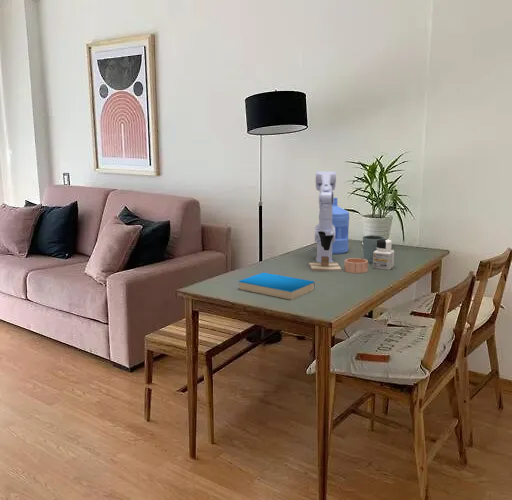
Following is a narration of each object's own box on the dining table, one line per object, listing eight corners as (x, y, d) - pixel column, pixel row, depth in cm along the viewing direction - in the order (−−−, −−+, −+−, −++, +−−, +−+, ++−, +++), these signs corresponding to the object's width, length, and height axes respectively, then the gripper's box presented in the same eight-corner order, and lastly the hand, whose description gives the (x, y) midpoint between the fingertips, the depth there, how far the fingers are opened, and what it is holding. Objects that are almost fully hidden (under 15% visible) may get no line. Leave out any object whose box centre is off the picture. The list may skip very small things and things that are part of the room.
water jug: (313, 249, 285) (314, 197, 279) (340, 247, 289) (341, 196, 284) (325, 255, 270) (327, 200, 264) (353, 253, 275) (355, 199, 269)
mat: (306, 265, 250) (306, 263, 250) (338, 264, 250) (338, 263, 250) (310, 272, 235) (310, 271, 235) (344, 272, 235) (344, 271, 235)
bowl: (342, 268, 242) (343, 258, 241) (364, 268, 242) (365, 257, 241) (346, 274, 232) (347, 263, 231) (369, 274, 232) (370, 263, 231)
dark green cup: (382, 259, 260) (383, 235, 258) (384, 264, 250) (386, 239, 248) (361, 259, 261) (361, 235, 259) (363, 263, 251) (363, 238, 249)
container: (372, 268, 242) (373, 240, 240) (377, 264, 249) (378, 237, 246) (389, 270, 239) (390, 241, 236) (393, 266, 245) (394, 238, 243)
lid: (309, 264, 249) (309, 254, 248) (336, 263, 249) (336, 253, 248) (312, 271, 236) (312, 260, 235) (341, 270, 236) (341, 260, 235)
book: (291, 291, 195) (238, 280, 210) (291, 302, 196) (238, 290, 211) (315, 280, 209) (263, 271, 223) (315, 291, 210) (263, 281, 224)
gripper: (314, 216, 245) (314, 245, 248) (319, 221, 231) (318, 251, 233) (330, 216, 245) (329, 245, 248) (335, 221, 231) (334, 251, 233)
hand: (325, 248), depth 241 cm, fingers open, 7 cm apart
